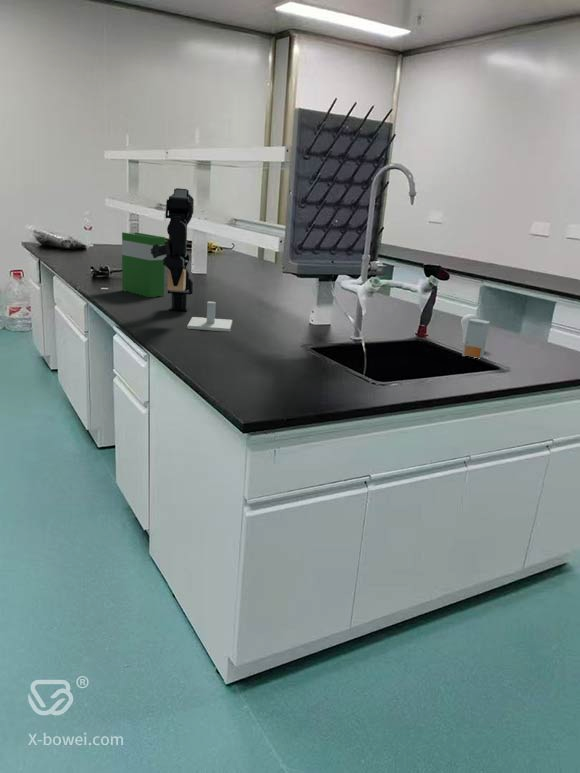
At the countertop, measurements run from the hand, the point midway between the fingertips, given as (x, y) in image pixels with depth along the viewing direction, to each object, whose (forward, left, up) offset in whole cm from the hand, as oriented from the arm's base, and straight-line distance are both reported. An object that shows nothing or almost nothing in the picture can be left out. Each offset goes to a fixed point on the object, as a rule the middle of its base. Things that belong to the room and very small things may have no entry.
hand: (176, 284), depth 198 cm
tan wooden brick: (0, 0, -2) cm, 2 cm away
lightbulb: (+1, +101, -13) cm, 102 cm away
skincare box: (+17, +98, -13) cm, 100 cm away
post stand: (0, +12, -13) cm, 18 cm away
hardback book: (-51, -21, -13) cm, 57 cm away
